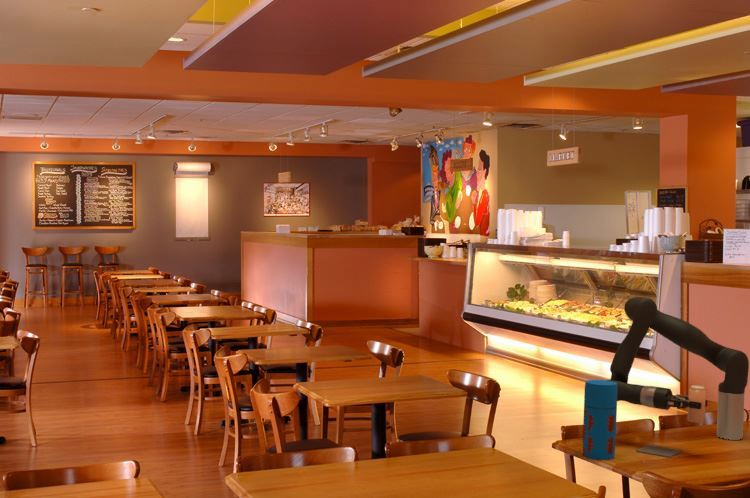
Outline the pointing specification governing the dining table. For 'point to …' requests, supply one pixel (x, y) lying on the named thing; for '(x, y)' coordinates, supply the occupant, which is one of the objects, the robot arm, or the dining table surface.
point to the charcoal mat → (659, 451)
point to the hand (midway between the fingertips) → (703, 404)
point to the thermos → (600, 419)
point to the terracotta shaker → (697, 395)
